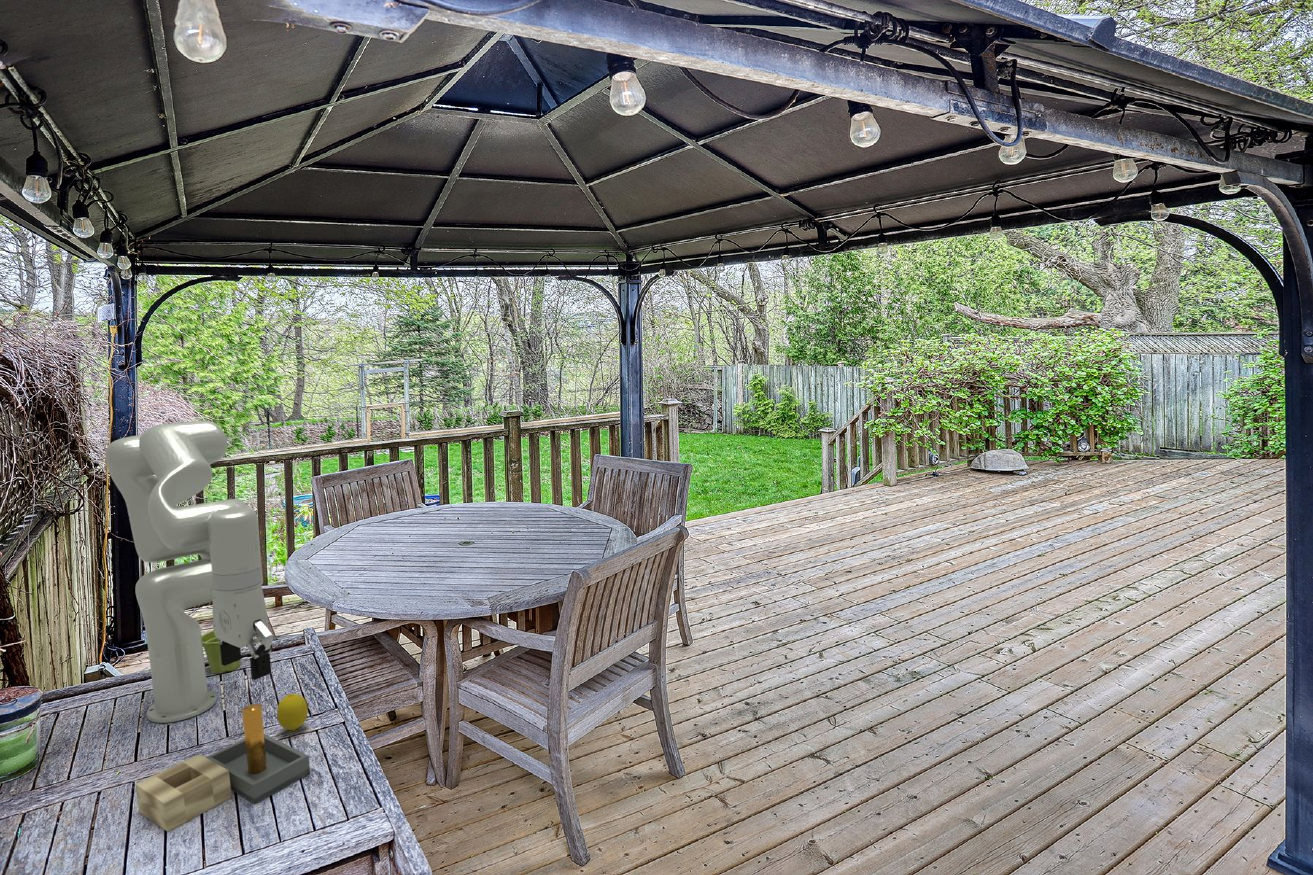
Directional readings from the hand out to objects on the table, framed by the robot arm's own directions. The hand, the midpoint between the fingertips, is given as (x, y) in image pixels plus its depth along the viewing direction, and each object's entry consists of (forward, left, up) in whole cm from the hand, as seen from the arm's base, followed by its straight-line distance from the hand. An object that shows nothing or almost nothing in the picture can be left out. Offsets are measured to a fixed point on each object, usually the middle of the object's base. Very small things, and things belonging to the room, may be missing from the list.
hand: (246, 669), depth 125 cm
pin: (+1, 0, -19) cm, 19 cm away
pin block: (-2, -11, -20) cm, 23 cm away
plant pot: (-50, +20, -20) cm, 58 cm away
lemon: (-8, +12, -20) cm, 25 cm away
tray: (+1, 0, -20) cm, 20 cm away
